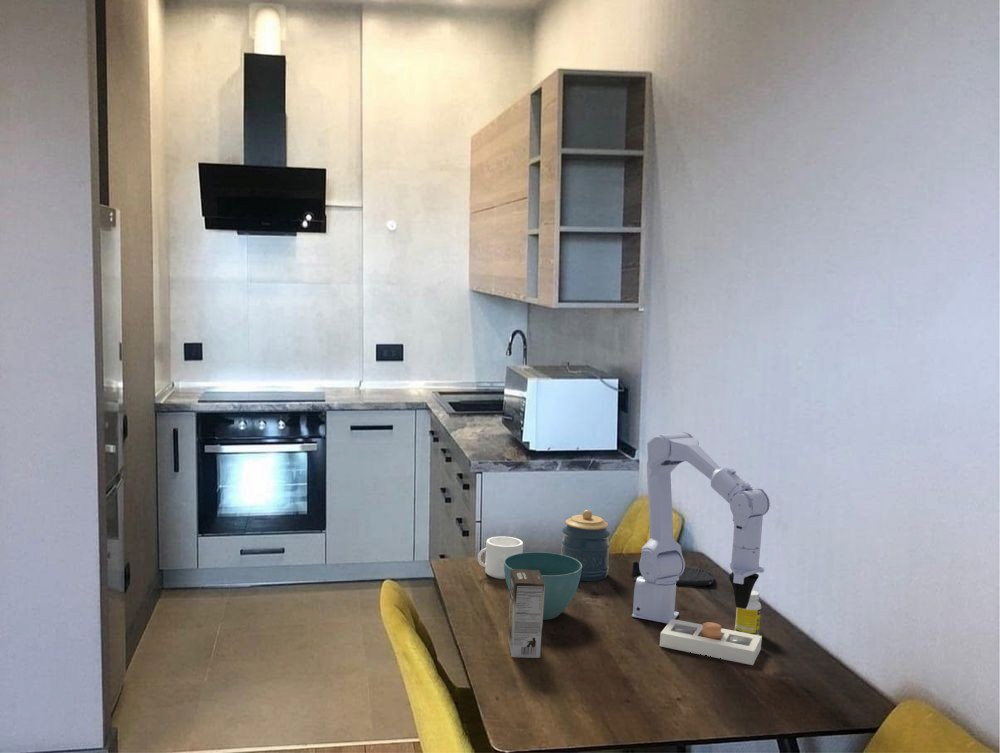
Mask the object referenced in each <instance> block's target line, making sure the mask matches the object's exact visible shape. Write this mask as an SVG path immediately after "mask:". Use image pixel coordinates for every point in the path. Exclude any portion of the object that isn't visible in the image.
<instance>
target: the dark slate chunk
mask: <svg viewBox="0 0 1000 753" xmlns="http://www.w3.org/2000/svg"><path fill="white" fill-rule="evenodd" d="M639 562H640V560H633V561H632V567H631V568H632V570H631V577H633V578H632V579H633V581H634V582H636V580H637V578H638V577H639V576H641V577H643V576H642V575H641V572H640V569H639ZM715 579H716V578H715V575H714V574H713V572H711V571H710V570H709V569H703V568H695V567H686V566H685V569H684V572H683V573H682V575H680V576H679V580H678V581H676V584H678V586H688V585H689V586H691V585H693V586H692V587H704V586H705V587H706V586H710V585H712V584H713V583H714V581H715ZM700 585H701V586H700Z"/></svg>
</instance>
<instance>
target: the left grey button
mask: <svg viewBox="0 0 1000 753" xmlns="http://www.w3.org/2000/svg"><path fill="white" fill-rule="evenodd" d="M675 632H680V633H685V634H690V635H693V629H692V628H690V627H687V626H677V627H675Z"/></svg>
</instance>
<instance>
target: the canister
mask: <svg viewBox="0 0 1000 753" xmlns="http://www.w3.org/2000/svg"><path fill="white" fill-rule="evenodd" d="M565 524H566V526H564V527H562V529H561V532H562V534H563V538H562V540H561V550H560V554H561V555H566V556H569V557H572V558H574V559H576V560H578V561H579V562H580V563H581V564H582V571H581V577H580V581H579V582H598V581H602V580H604V579H606V578H607V577H608V575H609V574H608V573H609V569H610V568H609V556H610V554H609V553H610V547H611V544H610V542H609V538H610V537H611V535H612V533H611V531H610V530H609V529H608V526H609V522H607V521H605V519H603V518H602V517H600V516H597V515H593V512H592V511H591V510H589V509H585V510H584V511H582V514H574V515H572V516H571V517H569V518H567V519H566V520H565Z"/></svg>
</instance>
